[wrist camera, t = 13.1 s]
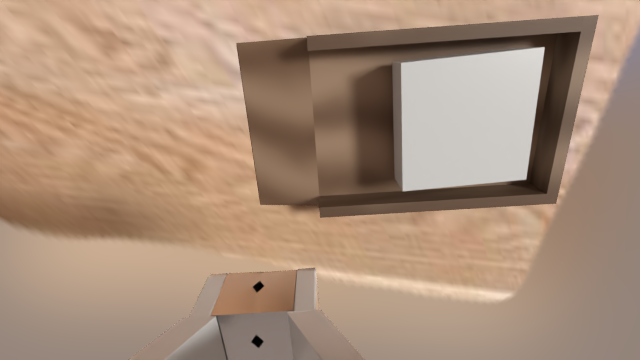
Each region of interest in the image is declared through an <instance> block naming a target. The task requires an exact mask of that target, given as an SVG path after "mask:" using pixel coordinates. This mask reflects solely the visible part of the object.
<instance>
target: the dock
mask: <svg viewBox="0 0 640 360" xmlns="http://www.w3.org/2000/svg"><path fill="white" fill-rule="evenodd" d="M597 20H598V15H593V16H579V17H565V18H552V19H538V20H524V21H510V22H496V23H482V24H469V25H455V26H441V27H427V28H413V29H399V30H386V31H372V32H358V33H344V34H330V35H316V36H307V38H297V39H284V40H272V41H259V42H247V43H237V49H238V56H239V63H240V69H241V76H242V83H243V90H244V96H245V103H246V110H247V116H248V123H249V130H250V137H251V143H252V150H253V157H254V163H255V170H256V177H257V184H258V190H259V197H260V204H261V205H319V209H320V218H322V217H339V216H355V215H372V214H389V213H405V212H422V211H439V210H456V209H472V208H489V207H506V206H522V205H539V204H556V201H557V197H558V193H559V188H560V184H561V179H562V175H563V170H564V166H565V162H566V157H567V153H568V148H569V144H570V139H571V135H572V131H573V126H574V122H575V117H576V113H577V108H578V104H579V99H580V95H581V91H582V86H583V82H584V77H585V73H586V68H587V64H588V60H589V55H590V51H591V46H592V42H593V37H594V33H595V29H596V24H597ZM525 47H545V49H544V56H543V64H542V71H541V78H540V85H539V92H538V99H537V106H536V113H535V121H534V128H533V135H532V142H531V149H530V156H529V163H528V170H527V178H526V180H516V181H505V182H495V183H485V184H474V185H464V186H454V187H443V188H433V189H423V190H412V191H402V190H401V188H400V186H399V185H398V183H397V181H396V180H395V173H394V133H393V86H392V62H395V61H404V60H413V59H422V58H431V57H440V56H449V55H458V54H467V53H476V52H485V51H494V50H503V49H512V48H525Z"/></svg>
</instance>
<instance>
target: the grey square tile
mask: <svg viewBox="0 0 640 360" xmlns="http://www.w3.org/2000/svg"><path fill="white" fill-rule="evenodd" d="M544 49H545V47H525V48H512V49H503V50H494V51H485V52H476V53H467V54H458V55H449V56H440V57H431V58H422V59H413V60H404V61H395V62H392V86H393V133H394V173H395V180H396V181H397V183H398V185H399V186H400V188H401V190H402V191H412V190H423V189H433V188H443V187H454V186H464V185H474V184H485V183H495V182H505V181H516V180H526V178H527V170H528V163H529V156H530V149H531V142H532V135H533V128H534V121H535V113H536V106H537V99H538V92H539V85H540V78H541V71H542V64H543V56H544Z"/></svg>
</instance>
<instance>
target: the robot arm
mask: <svg viewBox="0 0 640 360" xmlns="http://www.w3.org/2000/svg"><path fill="white" fill-rule="evenodd" d="M129 360H365V359H364V358H363V357H362V356H361V354H360V353H359V352H358V351H357V350H356V349H355V348H354V346H353V345H352V344H351V343H350V342H349V341H348V340H347V339H346V337H345V336H344V335H343V334H342V333H341V332H340V331H339V330H338V328H337V327H336V326H335V325H334V324H333V323H332V322H331V321H330V320H329V318H328V317H327V316H326V315H325V314H324V313H323V312H322V310H319V298H318V286H317V274H316V269H315V268H306V269H298V270H289V271H274V272H249V273H229V274H227V273H226V274H211V275H210V276H209V277H208V278H207V280H206V282H205V284H204V287H203V288H202V291H201V293H200V295H199V297H198V299H197V301H196V303H195V305H194V307H193V310H192V311H191V314H190V316H189V318H183V319H182V320H180V321H179V322H177V323H176V324H175V325H173V326H172V327H171V328H169V329H168V330H167V331H165V332H164V333H163V334H161V335H160V336H159V337H158V338H156V339H155V340H154V341H152V342H151V343H150V344H148V345H147V346H146V347H144V348H143V349H142V350H140V351H139V352H138V353H137V354H135V355H134V356H133V357H131V358H130V359H129Z"/></svg>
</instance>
